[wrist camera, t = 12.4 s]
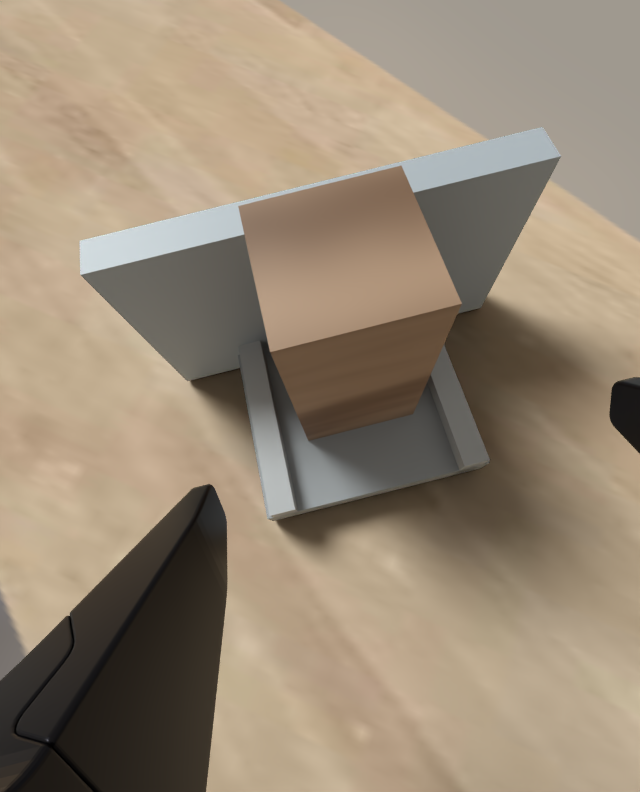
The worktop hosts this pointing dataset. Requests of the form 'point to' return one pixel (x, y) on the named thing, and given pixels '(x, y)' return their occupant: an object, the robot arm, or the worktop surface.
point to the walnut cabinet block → (350, 298)
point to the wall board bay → (246, 337)
